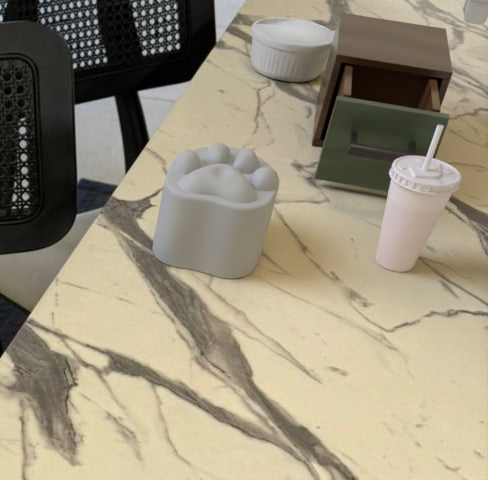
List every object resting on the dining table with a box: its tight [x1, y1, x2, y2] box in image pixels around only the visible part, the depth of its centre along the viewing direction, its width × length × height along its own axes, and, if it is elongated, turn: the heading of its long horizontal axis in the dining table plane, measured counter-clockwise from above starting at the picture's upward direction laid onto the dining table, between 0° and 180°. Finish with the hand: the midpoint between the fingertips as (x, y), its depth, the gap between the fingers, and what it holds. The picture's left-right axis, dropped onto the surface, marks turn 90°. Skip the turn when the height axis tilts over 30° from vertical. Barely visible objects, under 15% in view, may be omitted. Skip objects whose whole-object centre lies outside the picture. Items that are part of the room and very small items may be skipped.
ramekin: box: [250, 16, 335, 83], centre depth 137 cm, size 11×11×5 cm
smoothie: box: [374, 125, 463, 273], centre depth 96 cm, size 6×6×14 cm
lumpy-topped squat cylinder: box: [152, 142, 280, 280], centre depth 99 cm, size 10×13×9 cm
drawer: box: [314, 63, 450, 193], centre depth 112 cm, size 19×11×9 cm, turn 165°
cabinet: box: [311, 12, 454, 148], centre depth 122 cm, size 16×13×11 cm
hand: (472, 18), depth 87 cm, fingers closed
